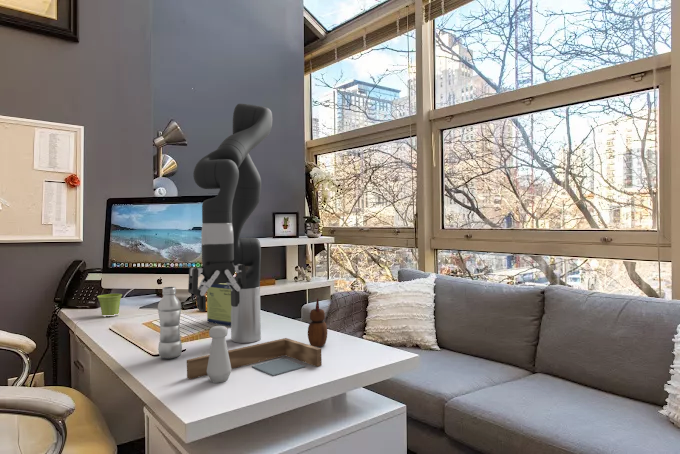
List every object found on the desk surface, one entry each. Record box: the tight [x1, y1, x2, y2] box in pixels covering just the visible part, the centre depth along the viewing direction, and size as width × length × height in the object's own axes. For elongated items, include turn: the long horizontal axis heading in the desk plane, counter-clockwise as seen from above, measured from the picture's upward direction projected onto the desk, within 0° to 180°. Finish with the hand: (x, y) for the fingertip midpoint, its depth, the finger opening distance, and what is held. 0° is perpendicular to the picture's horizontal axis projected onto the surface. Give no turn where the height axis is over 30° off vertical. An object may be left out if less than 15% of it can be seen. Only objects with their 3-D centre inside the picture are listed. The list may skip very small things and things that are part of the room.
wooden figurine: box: [307, 298, 328, 348], centre depth 142 cm, size 7×6×15 cm
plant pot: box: [96, 293, 123, 316], centre depth 192 cm, size 9×9×9 cm
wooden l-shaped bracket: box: [186, 337, 323, 380], centre depth 118 cm, size 16×30×4 cm, turn 132°
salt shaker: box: [206, 325, 232, 384], centre depth 112 cm, size 6×6×13 cm
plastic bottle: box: [157, 286, 183, 359], centre depth 131 cm, size 6×7×20 cm
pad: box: [251, 357, 306, 377], centre depth 121 cm, size 10×10×1 cm
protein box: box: [206, 283, 232, 327], centre depth 178 cm, size 10×16×16 cm
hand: (218, 308), depth 112 cm, fingers open, 8 cm apart
